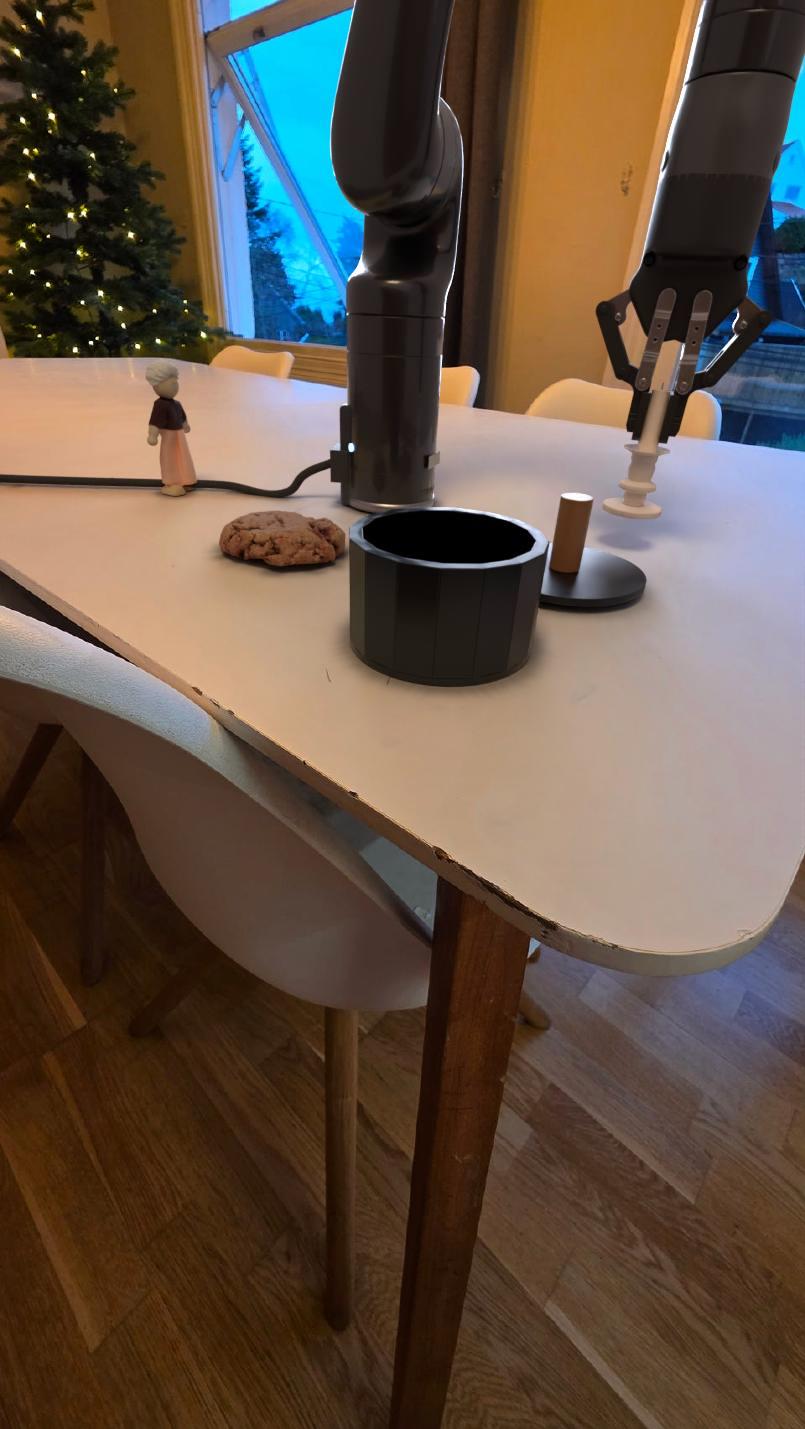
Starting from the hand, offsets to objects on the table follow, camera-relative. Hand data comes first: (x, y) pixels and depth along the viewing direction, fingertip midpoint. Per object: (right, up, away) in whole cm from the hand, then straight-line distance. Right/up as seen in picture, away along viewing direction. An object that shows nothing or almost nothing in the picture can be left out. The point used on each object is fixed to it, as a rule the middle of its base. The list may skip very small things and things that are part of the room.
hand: (648, 439), depth 54 cm
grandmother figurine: (-46, +1, +16) cm, 49 cm away
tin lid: (-8, -12, -4) cm, 15 cm away
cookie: (-31, -10, 0) cm, 33 cm away
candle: (0, -5, +3) cm, 6 cm away
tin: (-19, -19, -13) cm, 30 cm away
